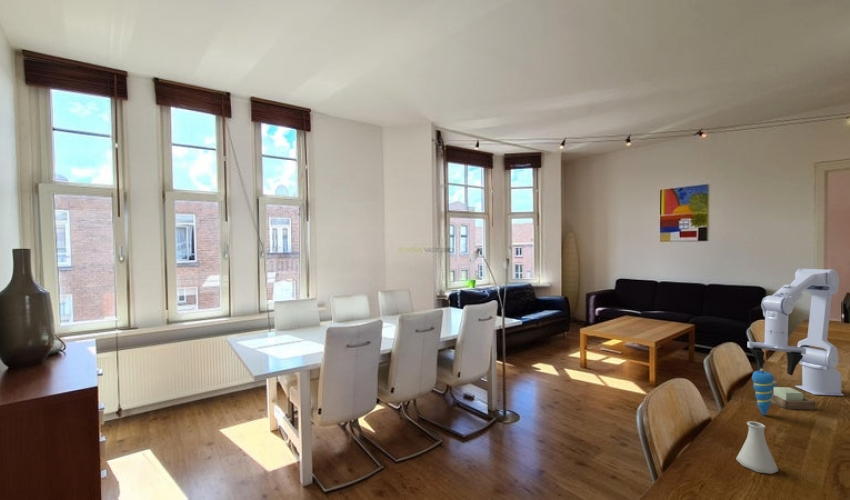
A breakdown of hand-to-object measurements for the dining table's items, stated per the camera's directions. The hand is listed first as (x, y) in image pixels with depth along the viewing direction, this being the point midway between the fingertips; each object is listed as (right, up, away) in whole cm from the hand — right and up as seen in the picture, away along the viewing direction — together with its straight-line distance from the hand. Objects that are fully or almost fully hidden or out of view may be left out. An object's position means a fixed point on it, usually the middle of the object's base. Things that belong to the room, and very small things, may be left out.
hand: (774, 372), depth 126 cm
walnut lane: (+3, -10, -1) cm, 11 cm away
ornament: (-13, -10, -10) cm, 19 cm away
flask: (-38, -11, -36) cm, 54 cm away
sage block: (+3, -10, +1) cm, 11 cm away
